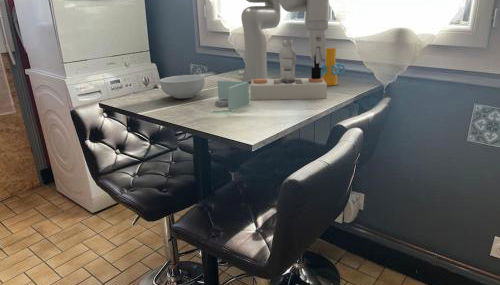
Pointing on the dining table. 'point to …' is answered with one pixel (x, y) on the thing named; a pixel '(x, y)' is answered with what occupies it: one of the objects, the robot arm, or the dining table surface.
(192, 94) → the cereal bowl
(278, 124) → the dining table surface
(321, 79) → the brown egg
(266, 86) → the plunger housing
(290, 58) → the gray metal bottle
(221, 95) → the right angle wall
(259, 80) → the chicken egg
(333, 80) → the orange post blue wheels
